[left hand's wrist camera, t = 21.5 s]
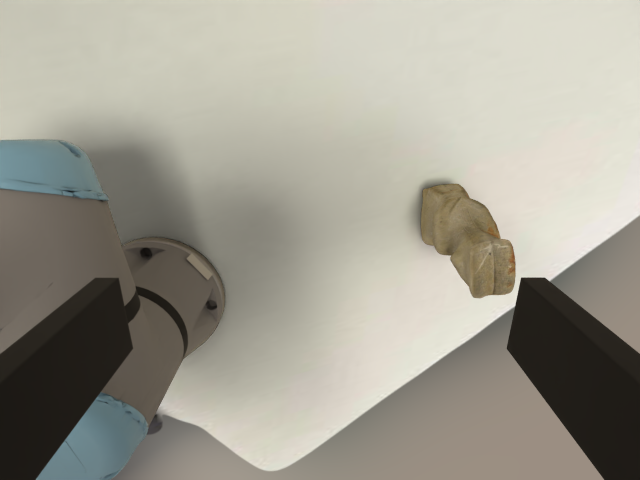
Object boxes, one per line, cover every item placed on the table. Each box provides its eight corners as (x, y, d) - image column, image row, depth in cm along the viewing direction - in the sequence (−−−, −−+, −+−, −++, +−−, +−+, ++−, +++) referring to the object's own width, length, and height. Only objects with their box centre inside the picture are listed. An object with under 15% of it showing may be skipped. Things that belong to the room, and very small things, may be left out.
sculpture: (412, 241, 45) (453, 307, 31) (412, 181, 42) (458, 222, 28) (462, 237, 45) (527, 302, 31) (465, 176, 42) (537, 216, 28)
